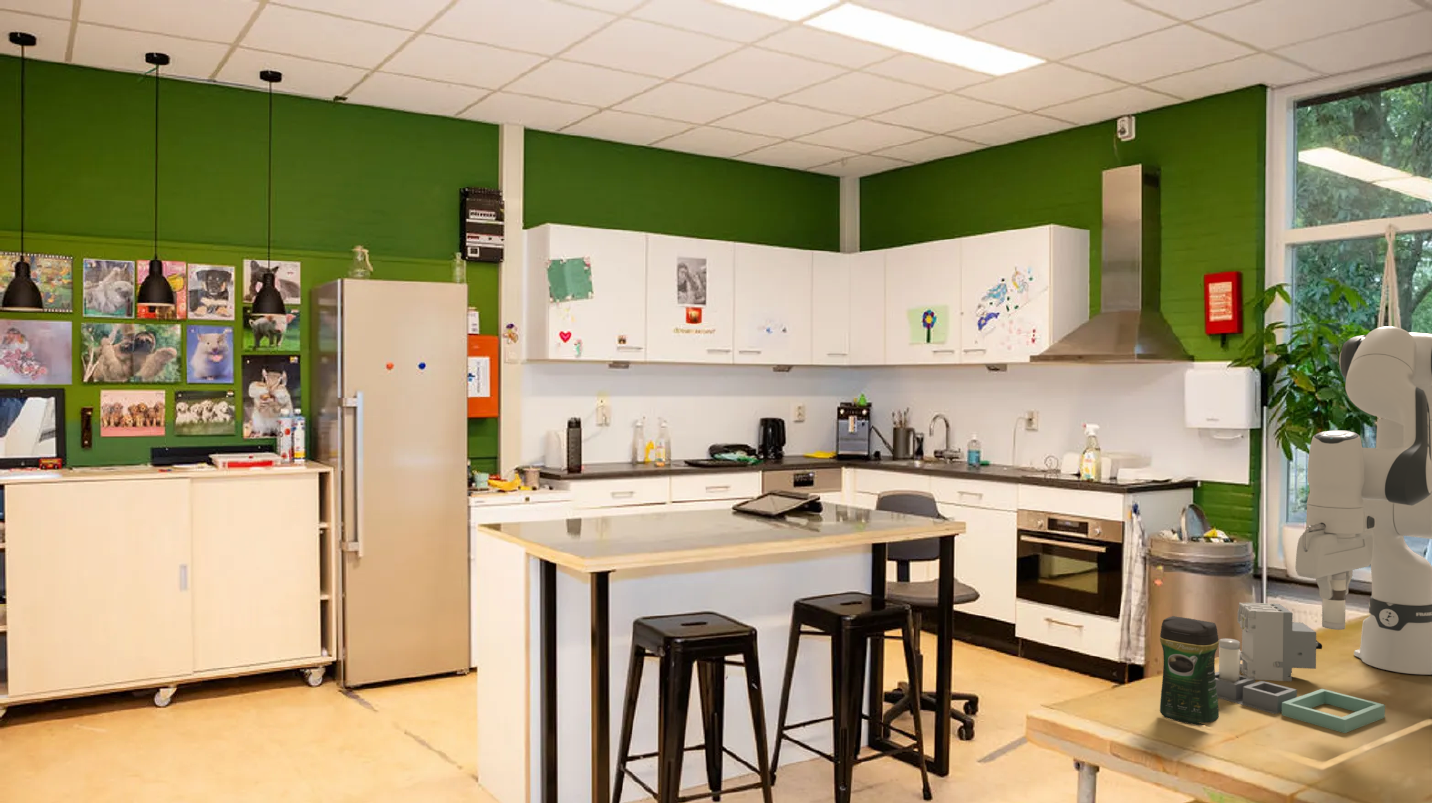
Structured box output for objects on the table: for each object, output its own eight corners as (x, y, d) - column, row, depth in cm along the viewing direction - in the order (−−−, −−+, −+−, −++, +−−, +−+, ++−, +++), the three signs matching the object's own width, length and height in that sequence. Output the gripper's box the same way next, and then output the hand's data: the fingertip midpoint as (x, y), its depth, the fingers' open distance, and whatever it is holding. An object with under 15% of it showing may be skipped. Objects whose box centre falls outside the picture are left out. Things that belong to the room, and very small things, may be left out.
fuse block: (1225, 688, 206) (1225, 669, 206) (1301, 709, 193) (1301, 689, 193) (1198, 697, 201) (1198, 677, 201) (1274, 719, 188) (1274, 697, 188)
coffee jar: (1224, 719, 189) (1225, 619, 188) (1207, 730, 183) (1208, 627, 182) (1171, 707, 196) (1171, 610, 195) (1153, 717, 190) (1154, 618, 189)
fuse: (1225, 688, 203) (1225, 637, 203) (1243, 693, 200) (1243, 641, 199) (1214, 691, 201) (1215, 640, 201) (1232, 696, 198) (1233, 644, 198)
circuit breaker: (1324, 687, 206) (1325, 613, 205) (1247, 684, 209) (1248, 611, 208) (1311, 676, 213) (1312, 605, 213) (1237, 673, 216) (1237, 602, 216)
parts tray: (1322, 705, 195) (1322, 688, 195) (1384, 722, 186) (1384, 704, 186) (1281, 720, 188) (1281, 702, 188) (1344, 738, 178) (1345, 720, 178)
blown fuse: (1328, 623, 189) (1329, 568, 188) (1349, 627, 186) (1350, 572, 185) (1317, 626, 187) (1318, 571, 186) (1338, 630, 184) (1339, 574, 183)
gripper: (1322, 528, 177) (1321, 608, 178) (1381, 517, 188) (1380, 592, 189) (1286, 524, 183) (1285, 601, 183) (1345, 513, 194) (1344, 586, 194)
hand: (1333, 596), depth 186 cm, fingers closed on blown fuse, 4 cm apart
